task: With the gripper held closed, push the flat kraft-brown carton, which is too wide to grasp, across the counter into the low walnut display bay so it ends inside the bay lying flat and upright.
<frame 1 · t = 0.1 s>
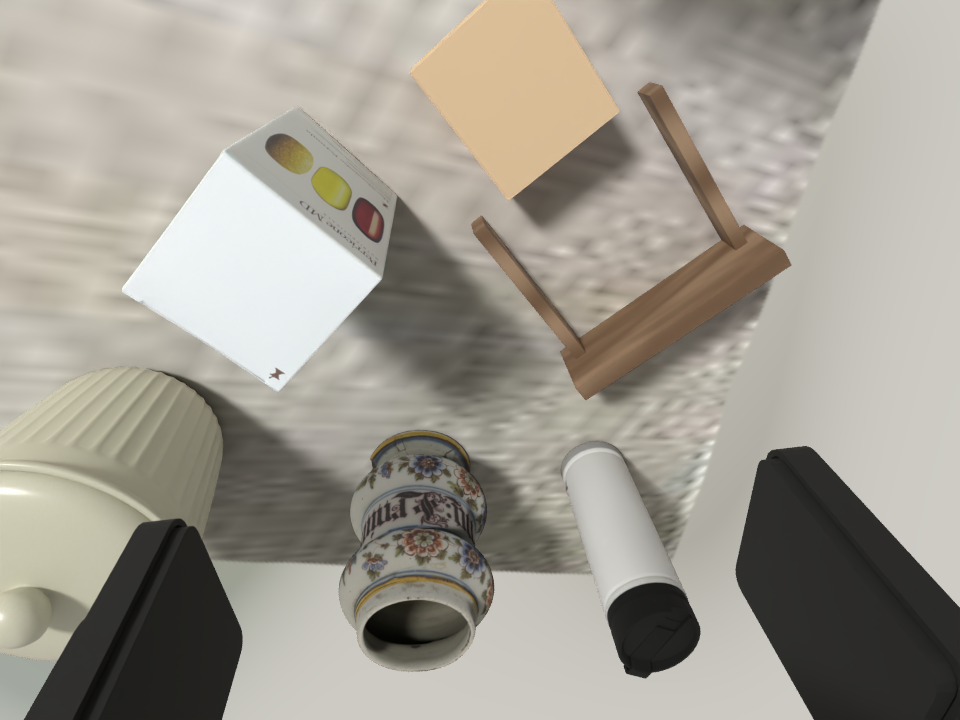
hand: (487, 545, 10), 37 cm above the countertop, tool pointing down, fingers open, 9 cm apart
display bay: (605, 228, 46), on the countertop
travel mug: (589, 464, 59), on the countertop
apothecary jar: (419, 468, 57), on the countertop
supplement box: (311, 197, 43), on the countertop
kraft carton: (508, 85, 41), on the countertop
canister: (150, 420, 52), on the countertop
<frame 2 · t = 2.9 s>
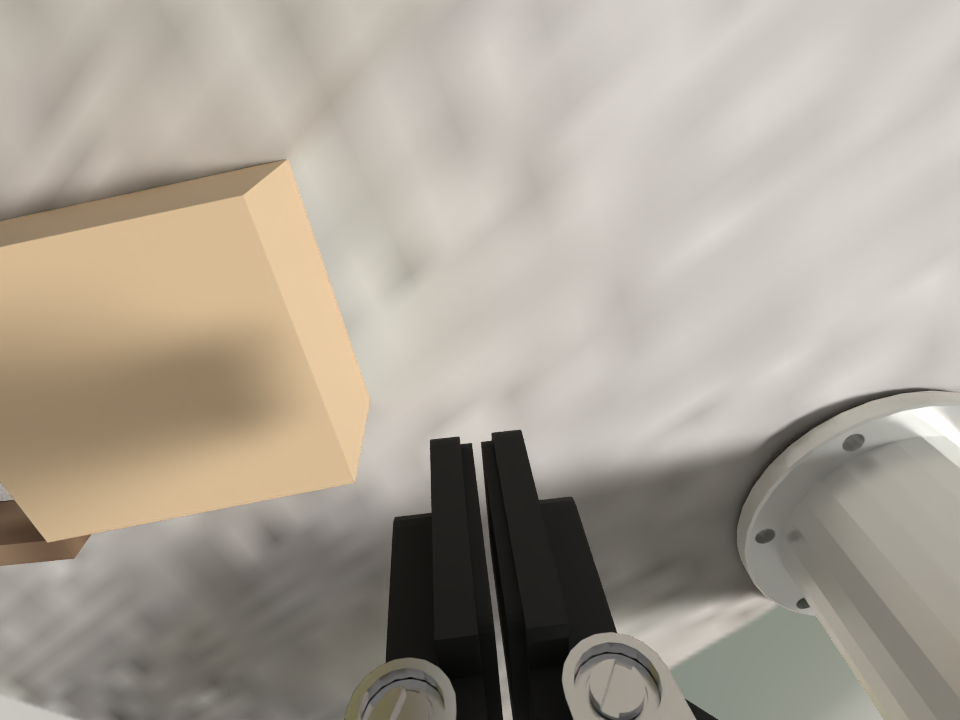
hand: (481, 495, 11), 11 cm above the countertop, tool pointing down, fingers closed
kraft carton: (196, 318, 20), on the countertop
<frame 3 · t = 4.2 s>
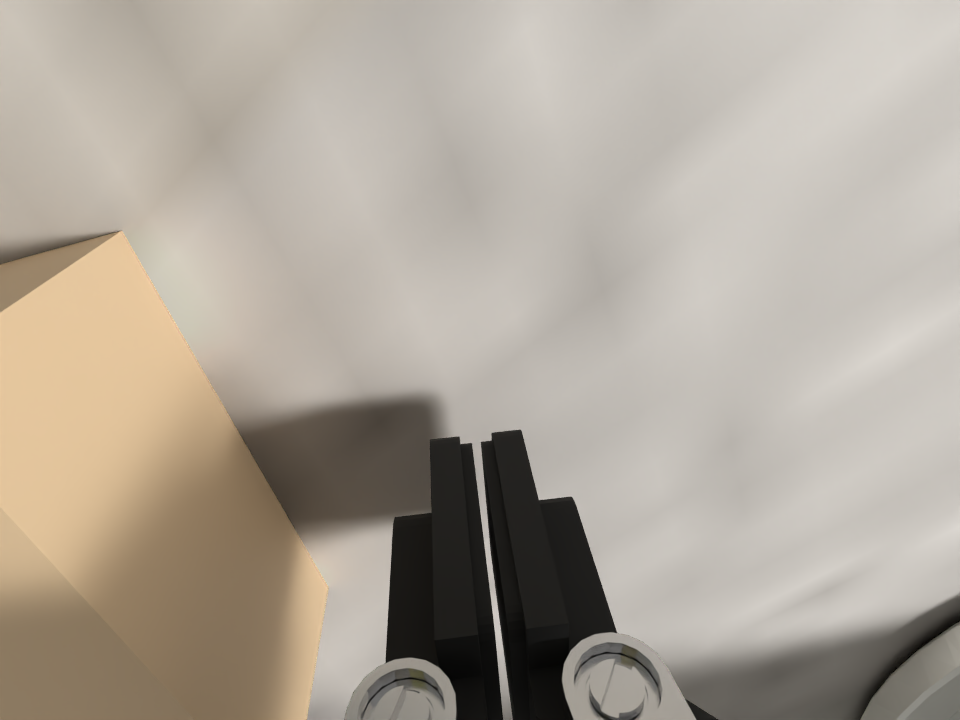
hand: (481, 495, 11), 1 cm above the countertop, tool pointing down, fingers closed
kraft carton: (19, 494, 12), on the countertop
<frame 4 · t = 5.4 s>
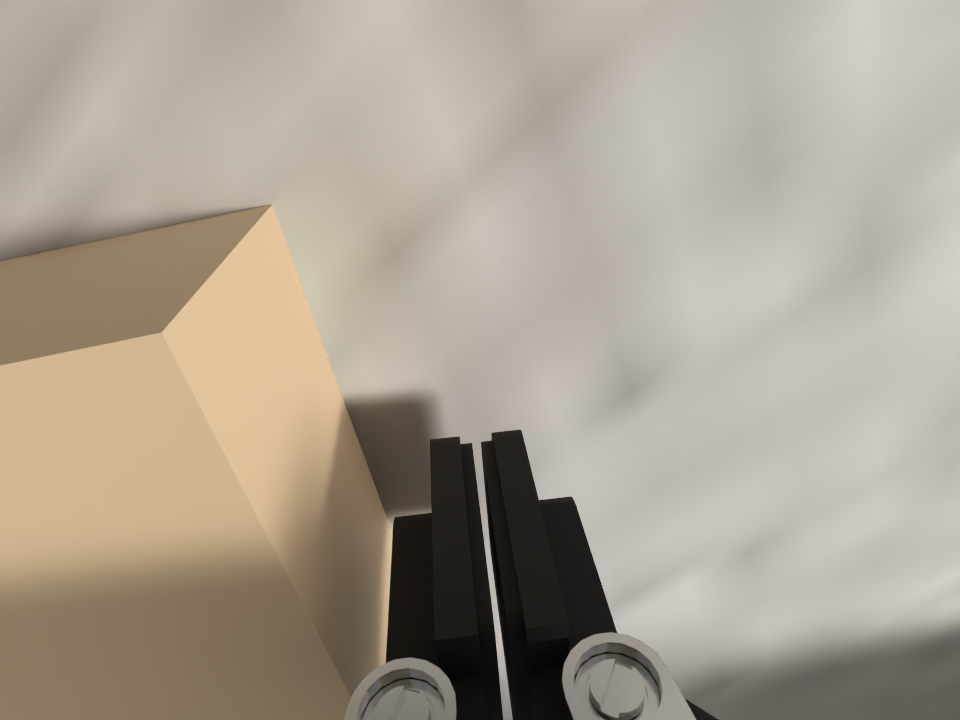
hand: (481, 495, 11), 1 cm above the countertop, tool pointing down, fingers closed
kraft carton: (120, 459, 12), on the countertop, touching gripper
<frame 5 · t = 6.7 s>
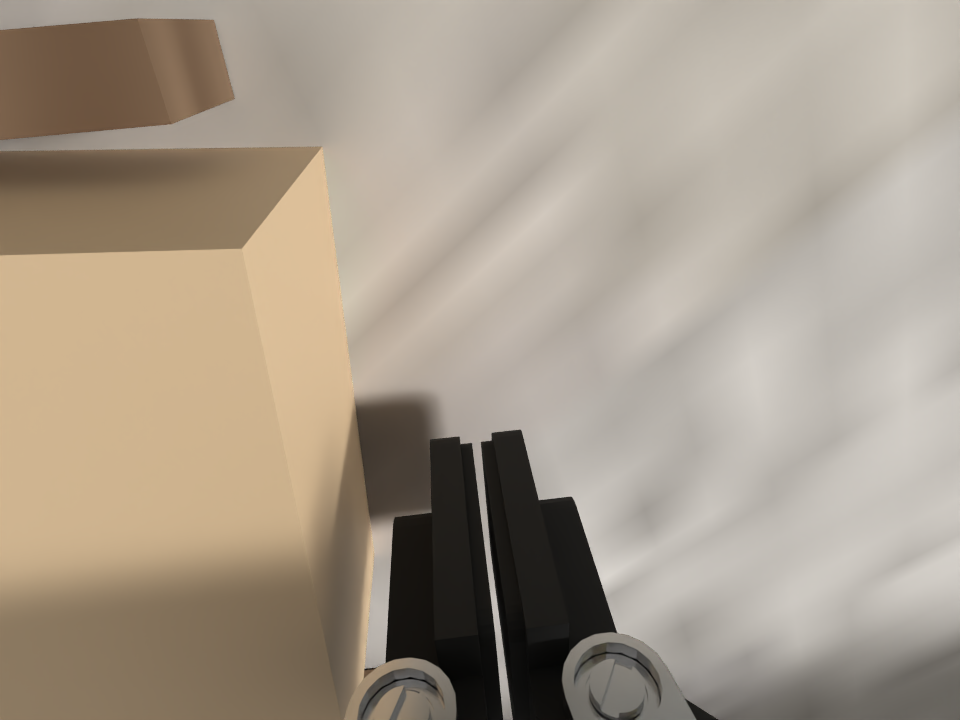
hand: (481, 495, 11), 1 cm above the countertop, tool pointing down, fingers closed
kraft carton: (89, 394, 11), on the countertop, touching gripper
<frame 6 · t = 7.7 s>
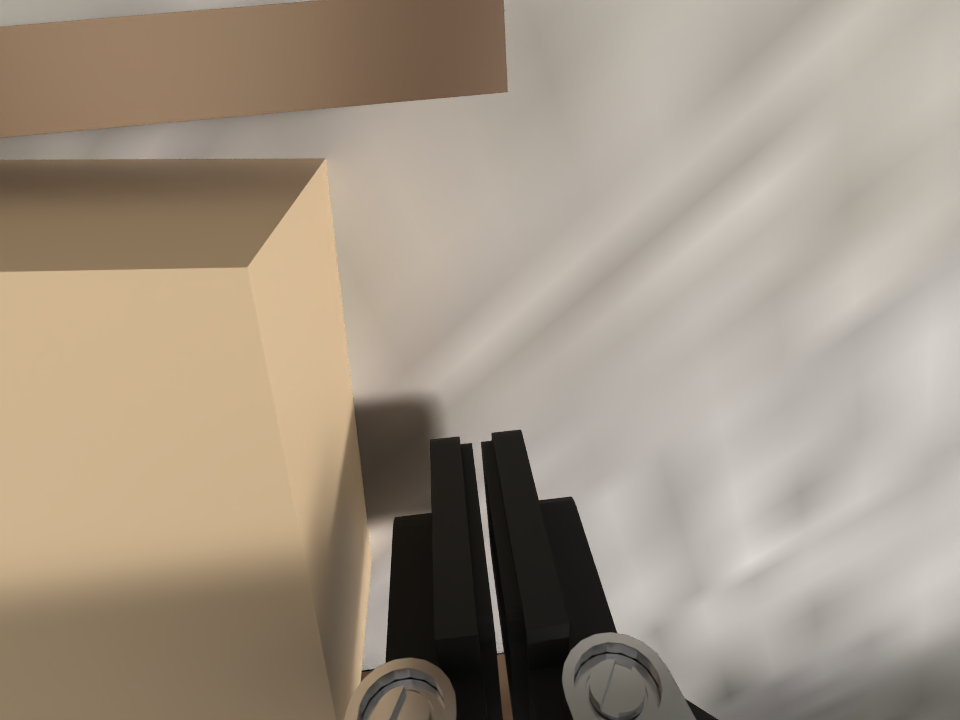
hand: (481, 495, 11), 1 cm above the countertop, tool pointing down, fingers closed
display bay: (167, 485, 12), on the countertop
kraft carton: (89, 400, 11), on the countertop, touching gripper
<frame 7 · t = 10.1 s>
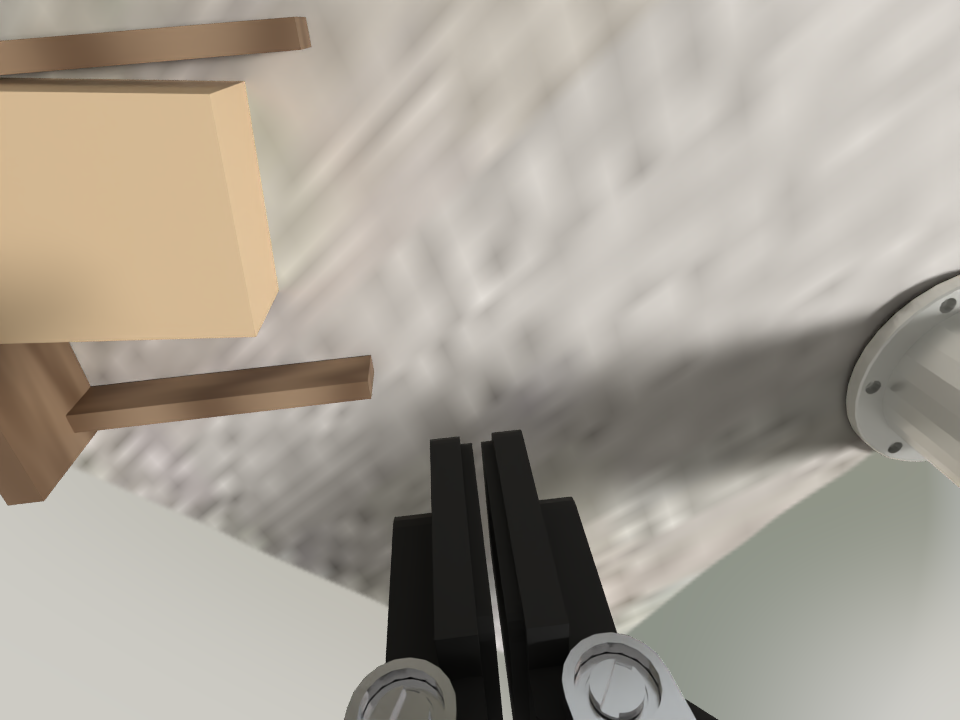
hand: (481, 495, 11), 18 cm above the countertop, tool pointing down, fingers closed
display bay: (187, 237, 26), on the countertop
kraft carton: (145, 194, 25), on the countertop
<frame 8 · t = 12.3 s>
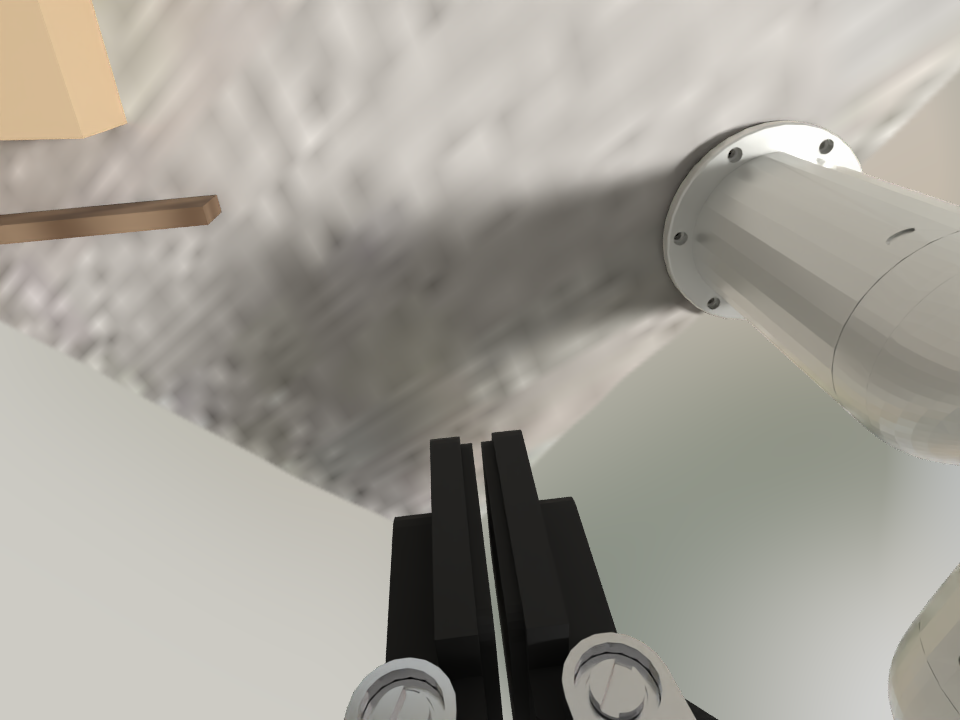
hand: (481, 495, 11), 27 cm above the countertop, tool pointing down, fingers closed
display bay: (38, 71, 30), on the countertop
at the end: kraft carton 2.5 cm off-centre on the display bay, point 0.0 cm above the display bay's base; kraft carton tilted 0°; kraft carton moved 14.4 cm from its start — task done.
